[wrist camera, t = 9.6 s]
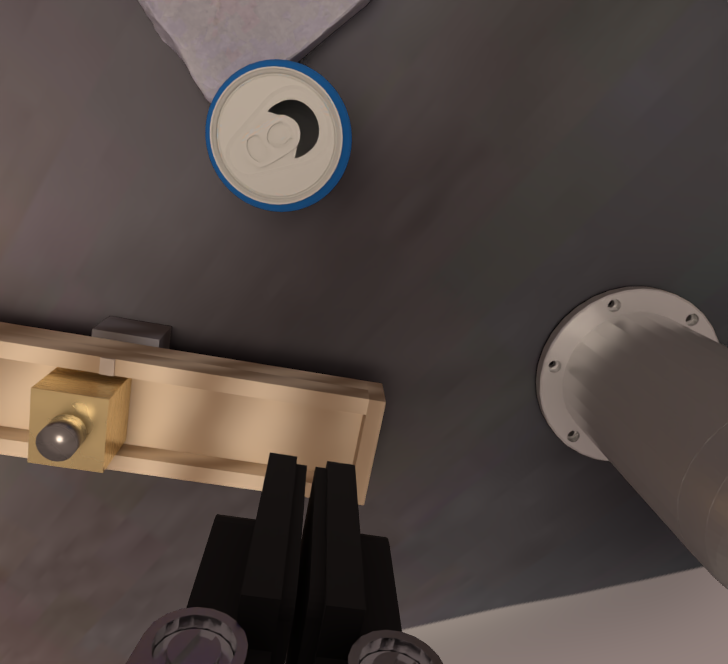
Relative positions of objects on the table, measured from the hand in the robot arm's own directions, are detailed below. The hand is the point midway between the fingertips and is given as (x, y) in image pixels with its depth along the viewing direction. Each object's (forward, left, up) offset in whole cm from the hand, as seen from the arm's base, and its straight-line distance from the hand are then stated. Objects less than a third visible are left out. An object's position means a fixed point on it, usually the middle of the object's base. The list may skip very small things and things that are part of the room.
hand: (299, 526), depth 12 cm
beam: (+11, +10, -29) cm, 33 cm away
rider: (+12, +10, -25) cm, 29 cm away
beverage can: (+3, -7, -29) cm, 30 cm away
